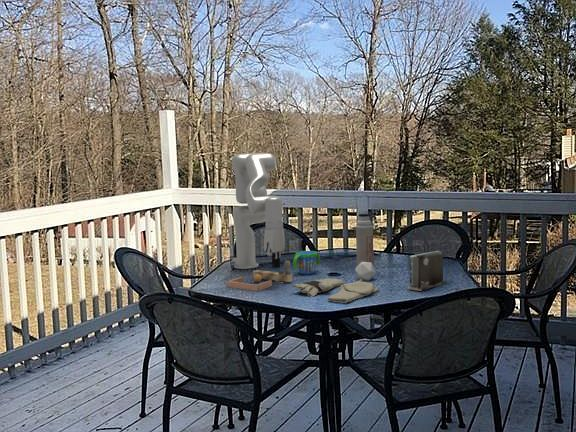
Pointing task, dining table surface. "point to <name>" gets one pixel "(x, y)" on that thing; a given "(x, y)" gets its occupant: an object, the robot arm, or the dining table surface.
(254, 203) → the robot arm
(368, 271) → the die
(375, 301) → the dining table surface
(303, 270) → the snack cup
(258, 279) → the ball
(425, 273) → the radio
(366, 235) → the thermos bottle
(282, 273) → the lever
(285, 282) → the pivot base
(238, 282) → the open frame
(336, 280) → the pair of gloves
